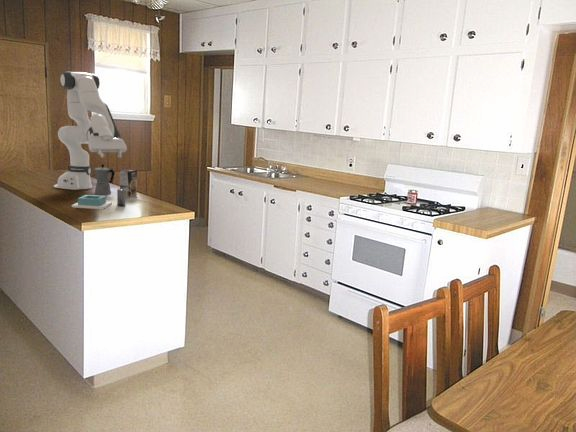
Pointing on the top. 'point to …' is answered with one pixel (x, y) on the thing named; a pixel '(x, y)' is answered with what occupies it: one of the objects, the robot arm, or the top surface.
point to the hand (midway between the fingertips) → (111, 157)
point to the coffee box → (129, 182)
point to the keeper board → (92, 202)
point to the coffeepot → (103, 180)
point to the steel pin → (120, 197)
